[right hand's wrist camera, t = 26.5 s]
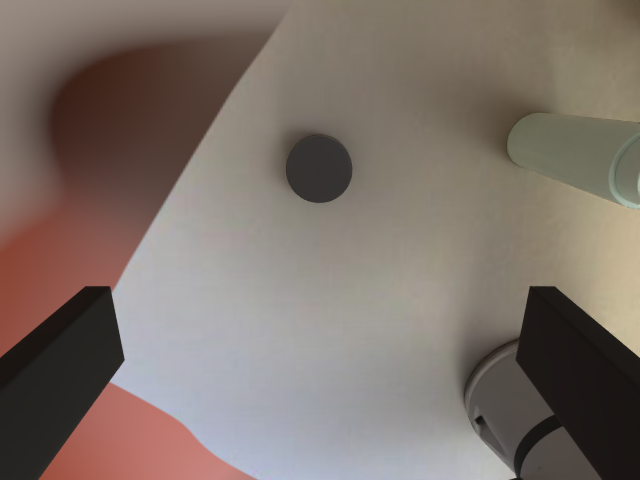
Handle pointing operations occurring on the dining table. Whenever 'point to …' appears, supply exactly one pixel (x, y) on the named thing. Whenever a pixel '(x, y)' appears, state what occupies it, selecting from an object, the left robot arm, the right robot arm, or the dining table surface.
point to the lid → (319, 168)
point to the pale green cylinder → (581, 153)
